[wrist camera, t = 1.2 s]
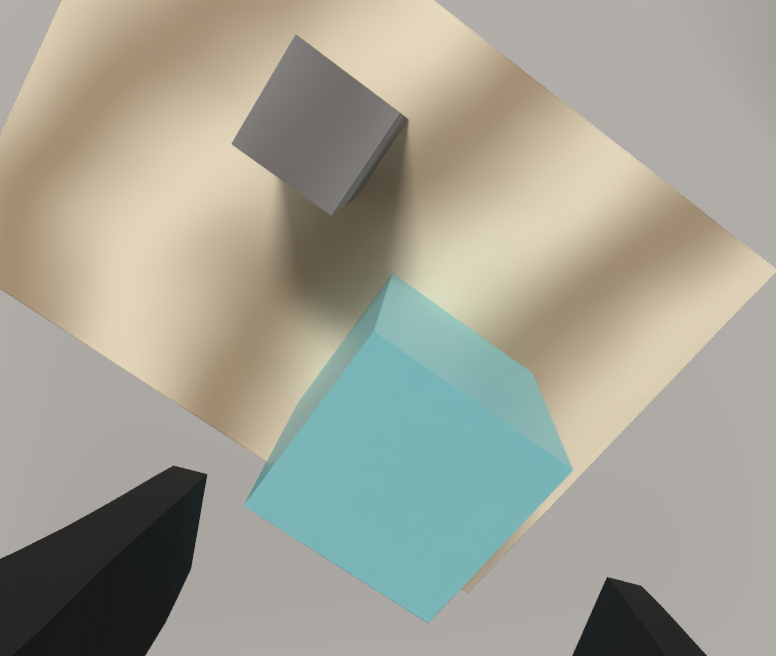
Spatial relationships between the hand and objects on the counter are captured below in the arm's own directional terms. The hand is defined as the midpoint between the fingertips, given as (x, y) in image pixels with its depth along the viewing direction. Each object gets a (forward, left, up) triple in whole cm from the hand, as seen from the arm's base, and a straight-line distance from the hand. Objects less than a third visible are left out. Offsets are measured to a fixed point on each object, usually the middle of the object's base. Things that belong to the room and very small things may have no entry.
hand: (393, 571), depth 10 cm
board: (+4, -2, -9) cm, 10 cm away
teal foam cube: (0, 0, -8) cm, 8 cm away
